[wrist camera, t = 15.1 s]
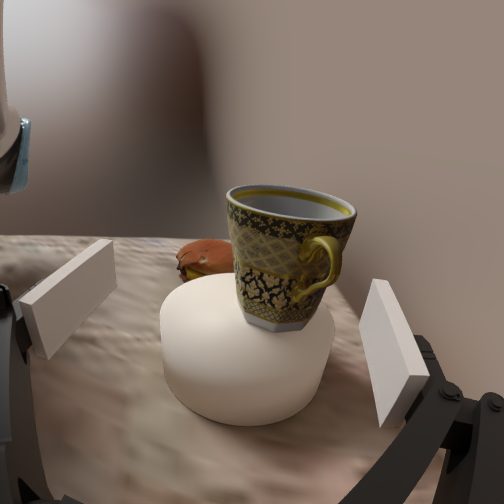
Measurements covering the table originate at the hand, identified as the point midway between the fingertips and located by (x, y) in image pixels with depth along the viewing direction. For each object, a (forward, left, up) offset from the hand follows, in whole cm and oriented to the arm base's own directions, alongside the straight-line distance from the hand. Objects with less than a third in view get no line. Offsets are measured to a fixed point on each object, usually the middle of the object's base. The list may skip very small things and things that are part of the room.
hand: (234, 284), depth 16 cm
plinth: (-8, +6, -14) cm, 17 cm away
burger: (-25, +9, -15) cm, 31 cm away
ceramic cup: (-6, +8, -8) cm, 13 cm away
